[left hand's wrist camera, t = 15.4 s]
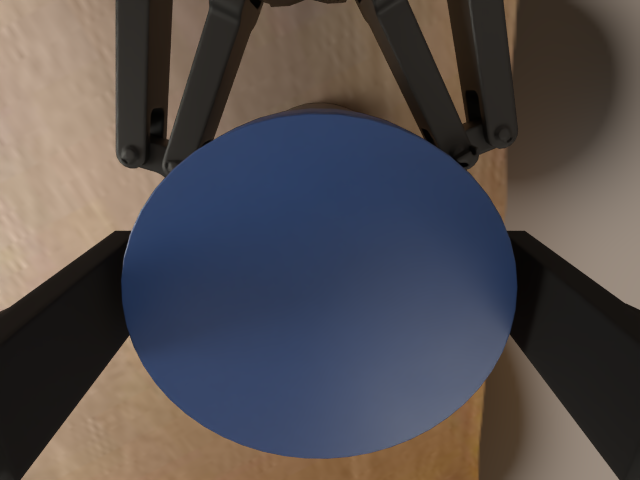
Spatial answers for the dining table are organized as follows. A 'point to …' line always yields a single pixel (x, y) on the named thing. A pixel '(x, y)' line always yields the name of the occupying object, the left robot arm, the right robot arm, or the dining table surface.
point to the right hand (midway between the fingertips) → (324, 295)
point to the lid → (319, 284)
